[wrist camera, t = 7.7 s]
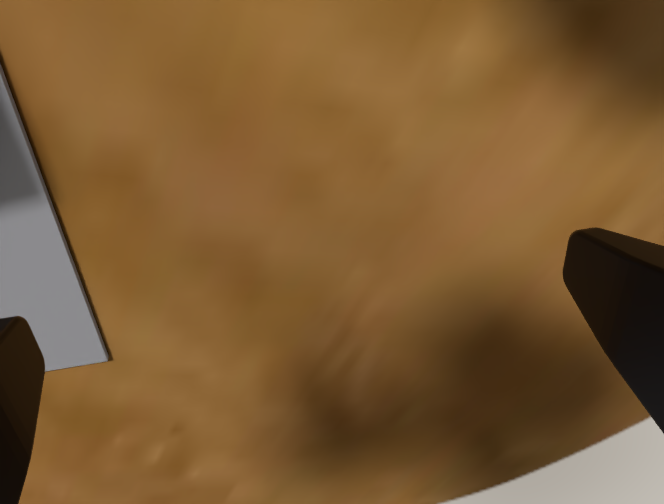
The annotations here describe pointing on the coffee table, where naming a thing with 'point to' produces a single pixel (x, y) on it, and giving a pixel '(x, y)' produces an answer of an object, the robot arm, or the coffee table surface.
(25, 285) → the mat
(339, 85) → the coffee table surface
